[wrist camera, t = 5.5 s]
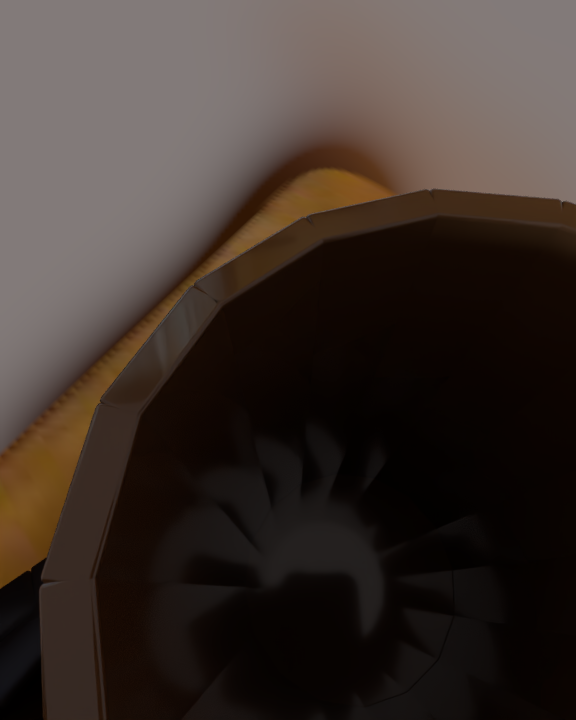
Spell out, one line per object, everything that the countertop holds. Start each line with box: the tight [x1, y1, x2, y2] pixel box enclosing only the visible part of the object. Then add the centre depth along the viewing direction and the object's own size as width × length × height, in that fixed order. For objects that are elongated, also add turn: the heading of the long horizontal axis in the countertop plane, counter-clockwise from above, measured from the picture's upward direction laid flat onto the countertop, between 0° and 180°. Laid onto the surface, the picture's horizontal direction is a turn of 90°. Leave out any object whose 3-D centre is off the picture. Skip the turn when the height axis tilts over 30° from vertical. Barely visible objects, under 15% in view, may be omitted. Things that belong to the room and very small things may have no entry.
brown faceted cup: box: [39, 189, 576, 720], centre depth 9 cm, size 7×7×12 cm
